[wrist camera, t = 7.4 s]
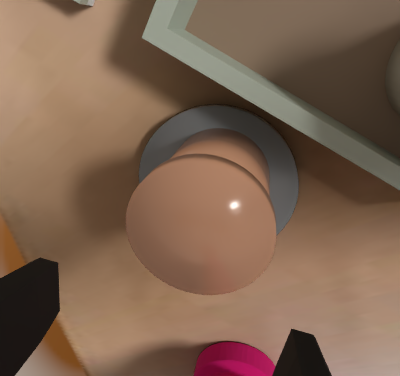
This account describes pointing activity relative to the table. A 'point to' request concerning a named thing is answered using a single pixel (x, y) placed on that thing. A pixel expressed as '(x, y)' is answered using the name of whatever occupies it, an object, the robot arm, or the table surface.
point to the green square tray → (298, 65)
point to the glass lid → (85, 2)
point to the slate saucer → (241, 122)
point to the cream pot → (394, 79)
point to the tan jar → (205, 215)
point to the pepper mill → (233, 361)
